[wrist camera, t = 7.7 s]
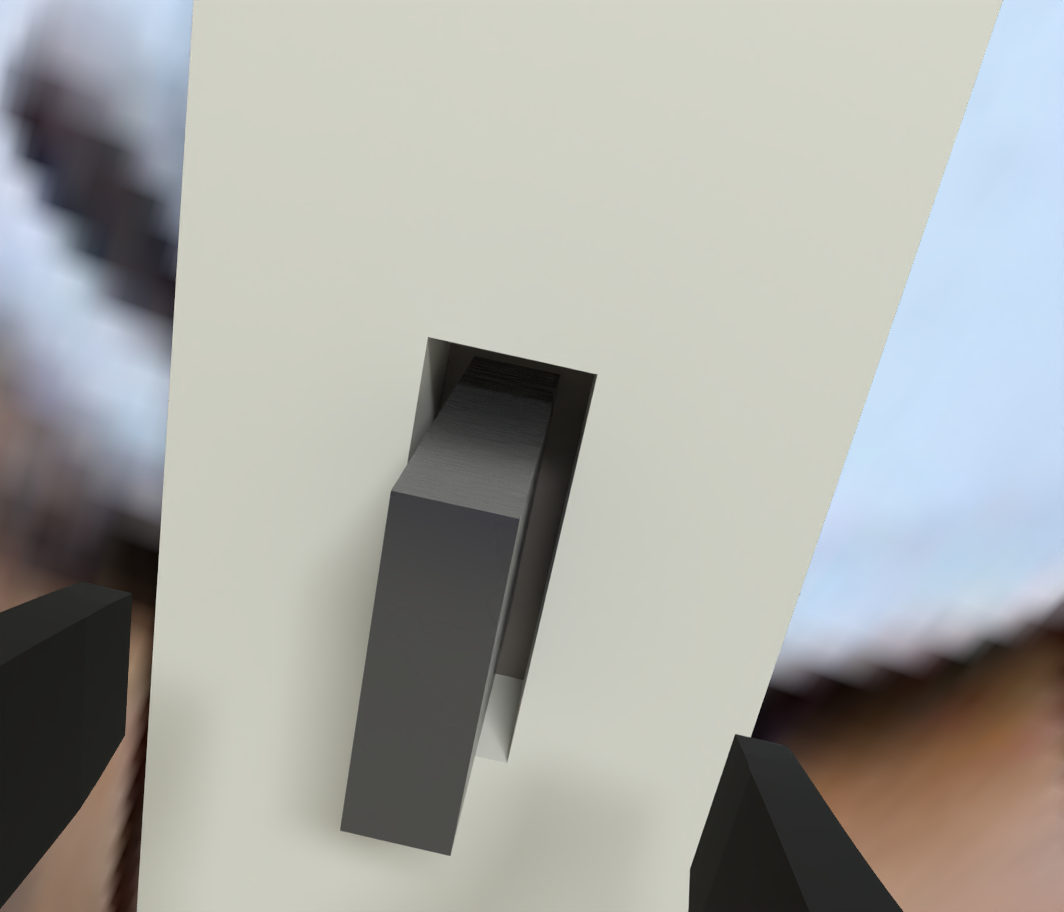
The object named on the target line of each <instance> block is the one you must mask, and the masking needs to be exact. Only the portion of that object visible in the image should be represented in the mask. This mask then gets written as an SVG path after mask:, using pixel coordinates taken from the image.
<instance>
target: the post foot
mask: <svg viewBox="0 0 1064 912" xmlns="http://www.w3.org/2000/svg"><path fill="white" fill-rule="evenodd" d="M1002 2H1003V0H194V2H193V18H192V34H191V50H190V66H189V82H188V98H187V114H186V130H185V146H184V162H183V178H182V194H181V210H180V227H179V243H178V259H177V275H176V291H175V307H174V323H173V339H172V355H171V371H170V387H169V403H168V419H167V435H166V451H165V467H164V483H163V499H162V516H161V532H160V548H159V564H158V580H157V596H156V612H155V628H154V644H153V660H152V676H151V692H150V708H149V724H148V740H147V756H146V772H145V788H144V805H143V821H142V837H141V853H140V869H139V885H138V901H137V912H688V909H689V880H690V867H691V864H692V861H693V858H694V855H695V853H696V850H697V847H698V844H699V841H700V838H701V835H702V832H703V829H704V826H705V823H706V820H707V817H708V814H709V811H710V808H711V805H712V802H713V799H714V796H715V793H716V790H717V787H718V784H719V781H720V778H721V775H722V772H723V769H724V766H725V763H726V760H727V757H728V754H729V751H730V748H731V745H732V742H733V739H734V736H735V734H738V735H742V736H746V737H751V734H752V731H753V728H754V725H755V722H756V719H757V717H758V714H759V711H760V708H761V705H762V702H763V699H764V696H765V693H766V690H767V687H768V684H769V682H770V679H771V676H772V673H773V670H774V667H775V664H776V661H777V658H778V655H779V652H780V649H781V647H782V644H783V641H784V638H785V635H786V632H787V629H788V626H789V623H790V620H791V617H792V614H793V612H794V609H795V606H796V603H797V600H798V597H799V594H800V591H801V588H802V585H803V582H804V579H805V577H806V574H807V571H808V568H809V565H810V562H811V559H812V556H813V553H814V550H815V547H816V544H817V542H818V539H819V536H820V533H821V530H822V527H823V524H824V521H825V518H826V515H827V512H828V509H829V507H830V504H831V501H832V498H833V495H834V492H835V489H836V486H837V483H838V480H839V477H840V474H841V472H842V469H843V466H844V463H845V460H846V457H847V454H848V451H849V448H850V445H851V442H852V439H853V437H854V434H855V431H856V428H857V425H858V422H859V419H860V416H861V413H862V410H863V407H864V404H865V402H866V399H867V396H868V393H869V390H870V387H871V384H872V381H873V378H874V375H875V372H876V369H877V366H878V364H879V361H880V358H881V355H882V352H883V349H884V346H885V343H886V340H887V337H888V334H889V331H890V329H891V326H892V323H893V320H894V317H895V314H896V311H897V308H898V305H899V302H900V299H901V296H902V294H903V291H904V288H905V285H906V282H907V279H908V276H909V273H910V270H911V267H912V264H913V261H914V259H915V256H916V253H917V250H918V247H919V244H920V241H921V238H922V235H923V232H924V229H925V226H926V224H927V221H928V218H929V215H930V212H931V209H932V206H933V203H934V200H935V197H936V194H937V191H938V189H939V186H940V183H941V180H942V177H943V174H944V171H945V168H946V165H947V162H948V159H949V156H950V154H951V151H952V148H953V145H954V142H955V139H956V136H957V133H958V130H959V127H960V124H961V121H962V119H963V116H964V113H965V110H966V107H967V104H968V101H969V98H970V95H971V92H972V89H973V86H974V84H975V81H976V78H977V75H978V72H979V69H980V66H981V63H982V60H983V57H984V54H985V51H986V49H987V46H988V43H989V40H990V37H991V34H992V31H993V28H994V25H995V22H996V19H997V16H998V14H999V11H1000V8H1001V5H1002ZM474 356H476V357H481V358H486V359H490V360H495V361H500V362H504V363H509V364H514V365H518V366H523V367H528V368H532V369H537V370H542V371H546V372H551V373H556V374H560V378H559V383H558V388H557V392H556V397H555V402H554V407H553V411H552V416H551V421H550V426H549V431H548V435H547V440H546V445H545V450H544V454H543V459H542V464H541V469H540V473H539V478H538V483H537V488H536V492H535V497H534V502H533V507H532V511H531V516H530V521H529V526H528V530H527V535H526V540H525V545H524V549H523V554H522V559H521V564H520V568H519V573H518V578H517V583H516V587H515V592H514V597H513V602H512V606H511V611H510V616H509V621H508V625H507V629H506V633H505V637H504V641H503V645H502V649H501V653H500V658H499V662H498V666H497V670H496V674H495V678H494V682H493V686H492V690H491V694H490V698H489V702H488V706H487V710H486V714H485V718H484V722H483V726H482V730H481V734H480V738H479V742H478V747H477V751H476V755H475V759H474V763H473V767H472V771H471V775H470V779H469V783H468V787H467V791H466V795H465V799H464V803H463V807H462V811H461V815H460V819H459V823H458V827H457V831H456V836H455V840H454V844H453V848H452V852H451V856H448V855H443V854H439V853H435V852H430V851H426V850H422V849H417V848H413V847H409V846H404V845H400V844H396V843H391V842H387V841H382V840H378V839H374V838H369V837H365V836H361V835H356V834H352V833H348V832H343V831H340V827H341V820H342V813H343V807H344V800H345V793H346V787H347V780H348V773H349V767H350V760H351V753H352V747H353V740H354V733H355V727H356V720H357V713H358V706H359V700H360V693H361V686H362V680H363V673H364V666H365V660H366V653H367V646H368V640H369V633H370V626H371V620H372V613H373V606H374V600H375V593H376V586H377V580H378V573H379V566H380V560H381V553H382V546H383V540H384V533H385V526H386V520H387V513H388V506H389V500H390V493H391V490H392V488H393V486H394V485H395V483H396V482H397V480H398V478H399V477H400V475H401V474H402V472H403V470H404V469H405V467H406V466H407V464H408V462H409V461H410V459H411V457H412V456H413V454H414V453H415V451H416V449H417V448H418V446H419V445H420V443H421V441H422V440H423V438H424V437H425V435H426V433H427V432H428V430H429V429H430V427H431V425H432V424H433V422H434V420H435V419H436V417H437V416H438V414H439V412H440V411H441V409H442V408H443V406H444V404H445V403H446V401H447V400H448V398H449V396H450V395H451V393H452V392H453V390H454V388H455V387H456V385H457V383H458V382H459V380H460V379H461V377H462V375H463V374H464V372H465V371H466V369H467V367H468V366H469V364H470V363H471V361H472V359H473V358H474Z"/></svg>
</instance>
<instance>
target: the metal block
mask: <svg viewBox="0 0 1064 912" xmlns="http://www.w3.org/2000/svg"><path fill="white" fill-rule="evenodd" d="M559 378H560V374H556V373H551V372H546V371H542V370H537V369H532V368H528V367H523V366H518V365H514V364H509V363H504V362H500V361H495V360H490V359H486V358H481V357H476V356H474V358H473V359H472V361H471V363H470V364H469V366H468V367H467V369H466V371H465V372H464V374H463V375H462V377H461V379H460V380H459V382H458V383H457V385H456V387H455V388H454V390H453V392H452V393H451V395H450V396H449V398H448V400H447V401H446V403H445V404H444V406H443V408H442V409H441V411H440V412H439V414H438V416H437V417H436V419H435V420H434V422H433V424H432V425H431V427H430V429H429V430H428V432H427V433H426V435H425V437H424V438H423V440H422V441H421V443H420V445H419V446H418V448H417V449H416V451H415V453H414V454H413V456H412V457H411V459H410V461H409V462H408V464H407V466H406V467H405V469H404V470H403V472H402V474H401V475H400V477H399V478H398V480H397V482H396V483H395V485H394V486H393V488H392V490H391V493H390V500H389V506H388V513H387V520H386V526H385V533H384V540H383V546H382V553H381V560H380V566H379V573H378V580H377V586H376V593H375V600H374V606H373V613H372V620H371V626H370V633H369V640H368V646H367V653H366V660H365V666H364V673H363V680H362V686H361V693H360V700H359V706H358V713H357V720H356V727H355V733H354V740H353V747H352V753H351V760H350V767H349V773H348V780H347V787H346V793H345V800H344V807H343V813H342V820H341V827H340V831H343V832H348V833H352V834H356V835H361V836H365V837H369V838H374V839H378V840H382V841H387V842H391V843H396V844H400V845H404V846H409V847H413V848H417V849H422V850H426V851H430V852H435V853H439V854H443V855H448V856H451V852H452V848H453V844H454V840H455V836H456V831H457V827H458V823H459V819H460V815H461V811H462V807H463V803H464V799H465V795H466V791H467V787H468V783H469V779H470V775H471V771H472V767H473V763H474V759H475V755H476V751H477V747H478V742H479V738H480V734H481V730H482V726H483V722H484V718H485V714H486V710H487V706H488V702H489V698H490V694H491V690H492V686H493V682H494V678H495V674H496V670H497V666H498V662H499V658H500V653H501V649H502V645H503V641H504V637H505V633H506V629H507V625H508V621H509V616H510V611H511V606H512V602H513V597H514V592H515V587H516V583H517V578H518V573H519V568H520V564H521V559H522V554H523V549H524V545H525V540H526V535H527V530H528V526H529V521H530V516H531V511H532V507H533V502H534V497H535V492H536V488H537V483H538V478H539V473H540V469H541V464H542V459H543V454H544V450H545V445H546V440H547V435H548V431H549V426H550V421H551V416H552V411H553V407H554V402H555V397H556V392H557V388H558V383H559Z"/></svg>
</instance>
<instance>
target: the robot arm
mask: <svg viewBox="0 0 1064 912" xmlns="http://www.w3.org/2000/svg"><path fill="white" fill-rule="evenodd" d="M131 610H132V593H128V592H124V591H120V590H115V589H111V588H107V587H102V586H98V585H94V584H90V583H85V582H81V583H78V584H75V585H72V586H68V587H65V588H63V589H60V590H57V591H54V592H52V593H49V594H46V595H44V596H41V597H38V598H36V599H33V600H31V601H28V602H26V603H23V604H21V605H18V606H16V607H13V608H11V609H8V610H6V611H3V612H1V613H0V909H1V907H2V906H3V905H4V904H5V902H6V901H7V900H8V899H9V897H10V896H11V895H12V894H13V893H14V891H15V890H16V889H17V888H18V886H19V885H20V884H21V883H22V881H23V880H24V879H25V878H26V876H27V875H28V874H29V873H30V872H31V870H32V869H33V868H34V867H35V865H36V864H37V863H38V862H39V860H40V859H41V858H42V857H43V855H44V854H45V853H46V851H47V850H48V849H49V848H50V846H51V845H52V844H53V843H54V841H55V840H56V839H57V838H58V836H59V835H60V834H61V833H62V831H63V830H64V829H65V828H66V826H67V825H68V824H69V822H70V821H71V820H72V819H73V817H74V816H75V815H76V813H77V812H78V811H79V810H80V808H81V806H82V805H83V803H84V802H85V800H86V799H87V797H88V795H89V794H90V792H91V791H92V789H93V787H94V786H95V784H96V783H97V781H98V780H99V778H100V776H101V775H102V773H103V771H104V770H105V768H106V766H107V765H108V763H109V761H110V760H111V758H112V756H113V754H114V753H115V751H116V749H117V748H118V746H119V744H120V743H121V741H122V739H123V738H124V736H125V725H126V706H127V687H128V668H129V648H130V629H131ZM688 912H903V911H902V909H901V908H900V907H899V905H898V904H897V903H896V901H895V900H894V899H893V897H892V896H891V895H890V893H889V892H888V891H887V889H886V888H885V887H884V885H883V884H882V883H881V881H880V880H879V878H878V877H877V876H876V874H875V873H874V872H873V870H872V869H871V867H870V866H869V865H868V863H867V862H866V860H865V859H864V858H863V856H862V855H861V853H860V852H859V850H858V849H857V848H856V846H855V845H854V843H853V842H852V840H851V839H850V838H849V836H848V835H847V833H846V832H845V830H844V829H843V827H842V826H841V824H840V823H839V821H838V820H837V818H836V817H835V816H834V814H833V813H832V811H831V810H830V808H829V807H828V805H827V804H826V802H825V801H824V799H823V798H822V796H821V795H820V793H819V792H818V790H817V789H816V787H815V786H814V784H813V783H812V781H811V780H810V778H809V777H808V775H807V774H806V772H805V771H804V769H803V768H802V766H801V765H800V763H799V762H798V760H797V759H796V757H795V756H794V755H793V753H792V752H791V750H790V749H789V748H788V746H785V745H781V744H776V743H772V742H768V741H763V740H759V739H755V738H751V737H746V736H742V735H738V734H735V736H734V739H733V742H732V745H731V748H730V751H729V754H728V757H727V760H726V763H725V766H724V769H723V772H722V775H721V778H720V781H719V784H718V787H717V790H716V793H715V796H714V799H713V802H712V805H711V808H710V811H709V814H708V817H707V820H706V823H705V826H704V829H703V832H702V835H701V838H700V841H699V844H698V847H697V850H696V853H695V855H694V858H693V861H692V864H691V867H690V880H689V909H688Z"/></svg>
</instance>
